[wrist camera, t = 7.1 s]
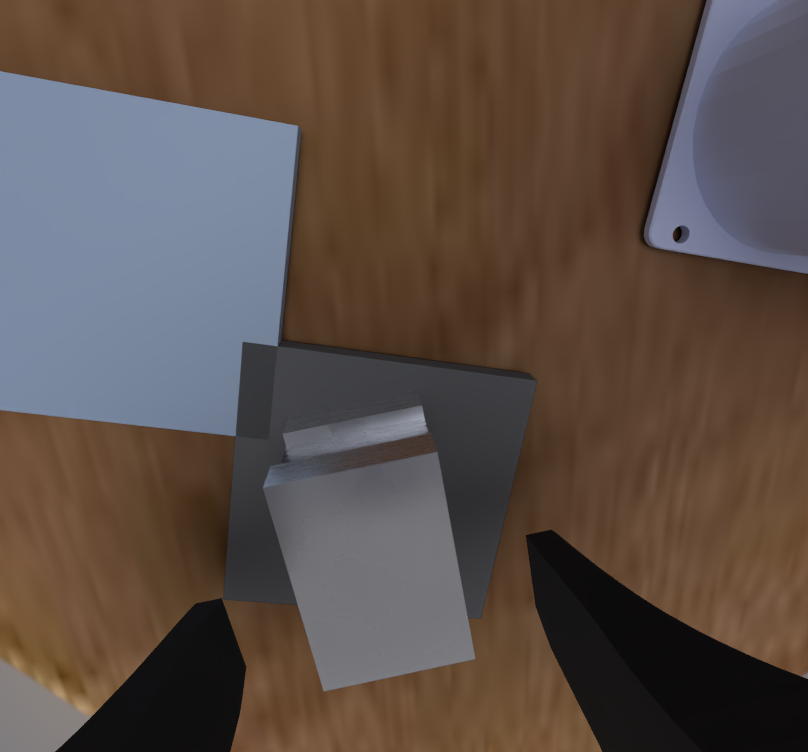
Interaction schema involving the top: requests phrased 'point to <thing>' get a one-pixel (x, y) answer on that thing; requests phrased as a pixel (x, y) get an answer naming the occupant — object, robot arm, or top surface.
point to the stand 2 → (358, 381)
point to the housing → (369, 541)
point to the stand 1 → (137, 253)
